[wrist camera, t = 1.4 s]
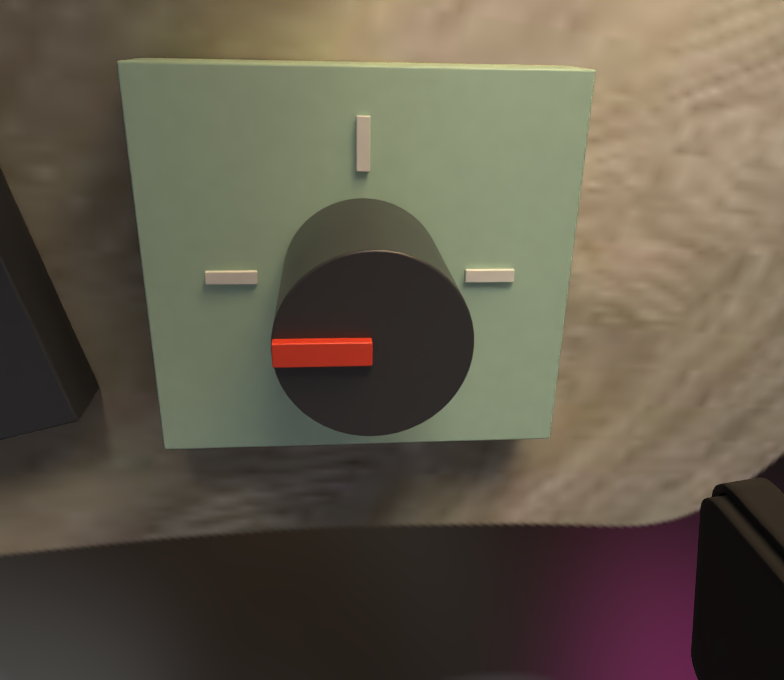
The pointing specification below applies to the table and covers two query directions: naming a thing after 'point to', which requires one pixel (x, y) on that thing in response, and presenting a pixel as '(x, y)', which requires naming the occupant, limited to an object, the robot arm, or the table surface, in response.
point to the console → (338, 183)
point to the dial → (369, 321)
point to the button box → (34, 338)
